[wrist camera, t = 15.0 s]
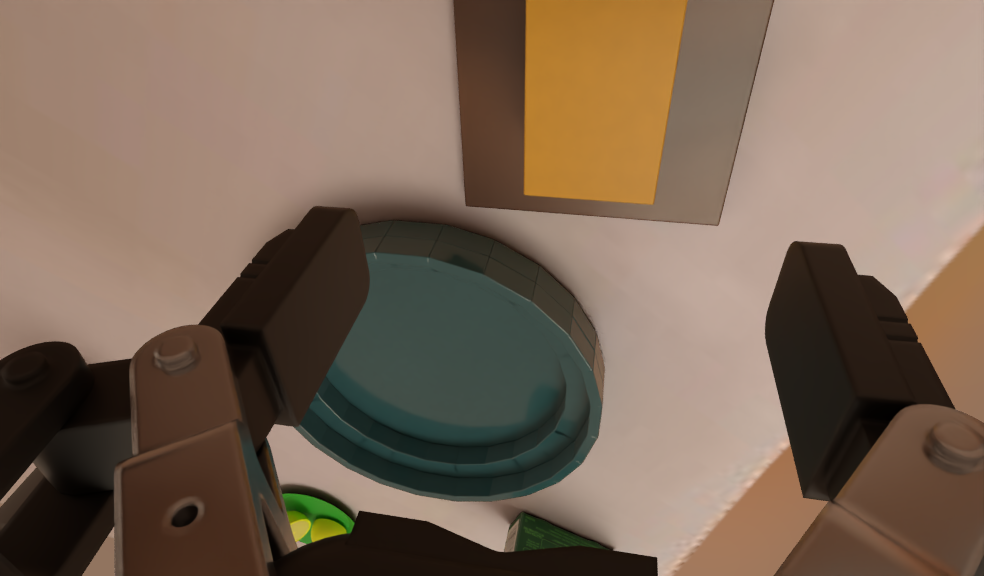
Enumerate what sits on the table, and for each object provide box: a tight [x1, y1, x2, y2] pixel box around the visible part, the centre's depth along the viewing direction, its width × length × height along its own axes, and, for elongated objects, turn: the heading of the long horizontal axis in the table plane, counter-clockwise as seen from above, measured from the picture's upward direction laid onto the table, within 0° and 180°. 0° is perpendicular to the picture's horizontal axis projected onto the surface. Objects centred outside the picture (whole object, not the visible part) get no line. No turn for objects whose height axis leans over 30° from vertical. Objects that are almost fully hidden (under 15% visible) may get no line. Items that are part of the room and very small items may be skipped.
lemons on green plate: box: [282, 493, 354, 544], centre depth 48 cm, size 8×8×3 cm
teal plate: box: [294, 220, 605, 502], centre depth 34 cm, size 19×19×3 cm
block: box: [524, 0, 688, 205], centre depth 21 cm, size 8×5×4 cm, turn 2°
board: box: [454, 0, 774, 226], centre depth 22 cm, size 14×11×1 cm
